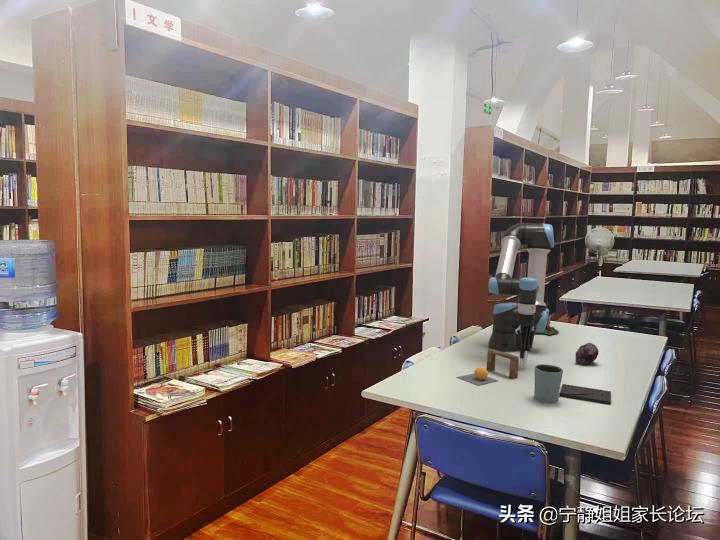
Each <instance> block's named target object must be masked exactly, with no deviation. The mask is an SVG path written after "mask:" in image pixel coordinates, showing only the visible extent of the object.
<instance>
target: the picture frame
mask: <svg viewBox="0 0 720 540" xmlns="http://www.w3.org/2000/svg"><path fill="white" fill-rule="evenodd" d="M561 384H562V385H561V386H560V390H559V397H560V398H566V399H571V400H578V401H583V402H590V403H595V404H600V405H601V404H603V405H608V406H611V403H612V402H611V401H612V391H610V390H604V389H600V388H599V389H597V388H592V387H585V386H580V385H579V386H578V385H571V384H565V383H561Z"/></svg>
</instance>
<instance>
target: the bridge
mask: <svg viewBox="0 0 720 540" xmlns="http://www.w3.org/2000/svg"><path fill="white" fill-rule="evenodd" d="M496 356H499V357H503V358H504V359H508V360H510V361H509V375H508V378H509V379H512V380H514V379H518V377H519V365H520V355H516V354H512V353H508V352H506V351H498V350H495V349H491V348H489V349H487V359H486V369H487V371H489V372H492V371H493V372H494V371H495V370H496Z"/></svg>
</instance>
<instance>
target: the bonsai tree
mask: <svg viewBox="0 0 720 540" xmlns="http://www.w3.org/2000/svg"><path fill="white" fill-rule="evenodd" d="M555 294H556V293H555V291H554V290H550V289H549V290H547V294H546V295H545V293H544V301H545V302H544V303H545V304H546V305H550V304H551V303H552V301H551V300H547V299H549V297H550V298H551V299H553V298H554V297H555V296H556V295H555ZM546 301H548V302H546ZM552 319H553V317H552V316H551V317H550V316H548V319H547V324H546V327H545V330H544V331H542V332H540V331H536V332H535V335H536V334H537V335H538V334H544V335H546V336H553V335H554V334H555V335H557V334H559V330H558V329H556V328H555V327H554V326H553V327H552V326H551V320H552Z"/></svg>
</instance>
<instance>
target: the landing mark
mask: <svg viewBox="0 0 720 540" xmlns="http://www.w3.org/2000/svg"><path fill="white" fill-rule="evenodd" d="M456 378H457V379H460V380H462V381H465V382H468V383H470V384H473V385H475V386H479V387H480V386H482V385H488V384H491V383H497V382H498V381H499V380H498V379H495V378H493V377H490V376H487V378H486V379H484V380H479V379H477V378H476V377H475V374H474V373H470V374H466V375H459V376H456Z"/></svg>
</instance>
